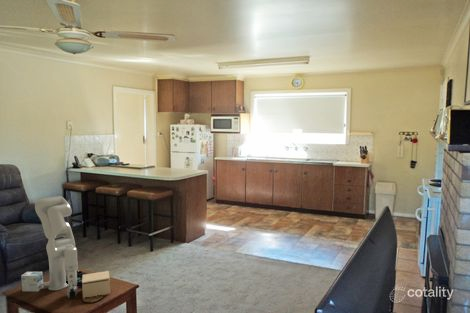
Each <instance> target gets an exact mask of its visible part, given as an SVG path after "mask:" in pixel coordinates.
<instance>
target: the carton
mask: <svg viewBox="0 0 470 313" xmlns="http://www.w3.org/2000/svg"><path fill="white" fill-rule="evenodd" d="M110 279H111V278H110ZM110 279H107V280H100V281H94V282H88V283H82V282H81V283H82V284H81V285H82V286H81V287H82V289H81V290H82V299H83V298H84V299H86V298H85V297H90V298H92V297H91V296H96V297H98V296H97V295H102V296H106V295H111V280H110Z"/></svg>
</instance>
